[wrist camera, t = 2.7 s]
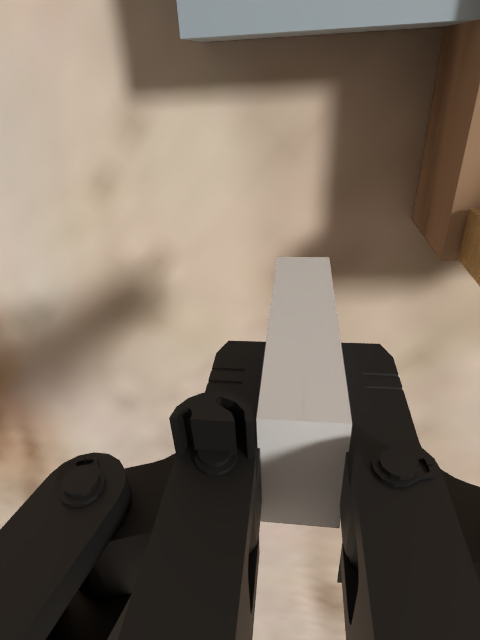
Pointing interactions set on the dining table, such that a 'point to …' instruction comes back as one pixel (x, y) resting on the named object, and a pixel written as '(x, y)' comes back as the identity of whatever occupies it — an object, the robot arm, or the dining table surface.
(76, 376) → the dining table surface
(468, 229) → the tan rectangular bar
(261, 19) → the grey square holed block
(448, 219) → the socket block
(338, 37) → the dining table surface
